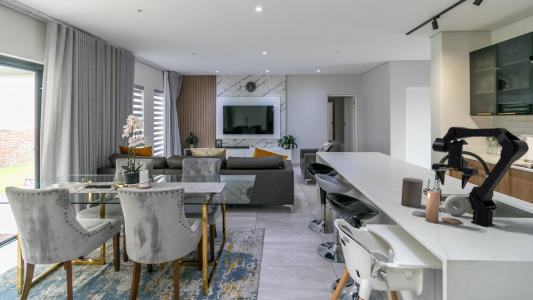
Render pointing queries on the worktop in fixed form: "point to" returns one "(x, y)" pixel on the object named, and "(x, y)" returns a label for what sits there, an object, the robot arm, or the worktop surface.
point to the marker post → (432, 206)
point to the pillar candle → (412, 192)
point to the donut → (456, 211)
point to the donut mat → (451, 220)
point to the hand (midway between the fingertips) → (452, 187)
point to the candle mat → (419, 214)
